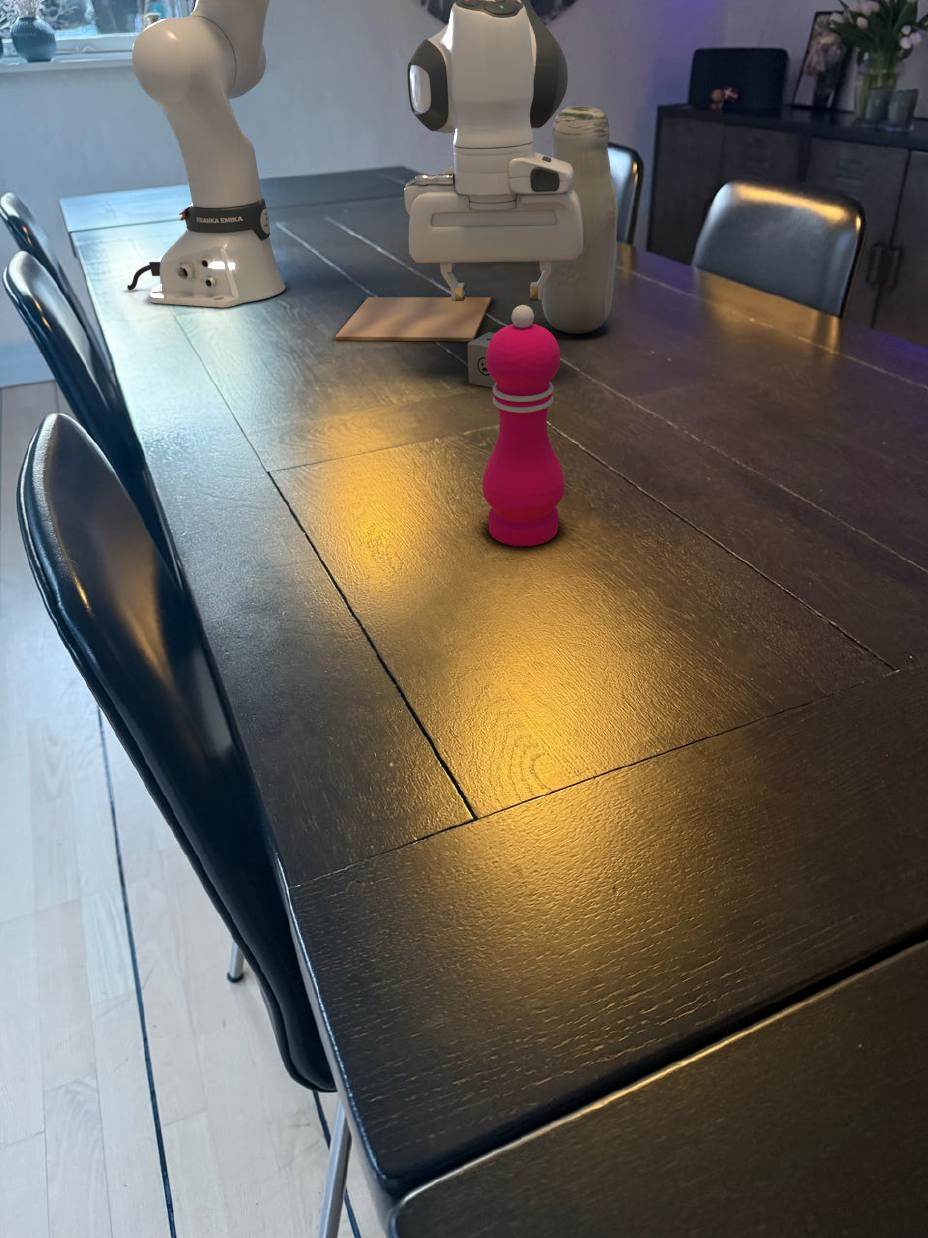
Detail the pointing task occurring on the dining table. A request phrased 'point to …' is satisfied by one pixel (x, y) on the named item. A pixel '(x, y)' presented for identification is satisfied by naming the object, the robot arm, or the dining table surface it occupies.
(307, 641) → the dining table surface
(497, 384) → the pepper mill
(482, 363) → the grey emoticon cube
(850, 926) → the dining table surface
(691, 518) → the dining table surface
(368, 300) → the brown wooden board
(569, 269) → the glass bottle
